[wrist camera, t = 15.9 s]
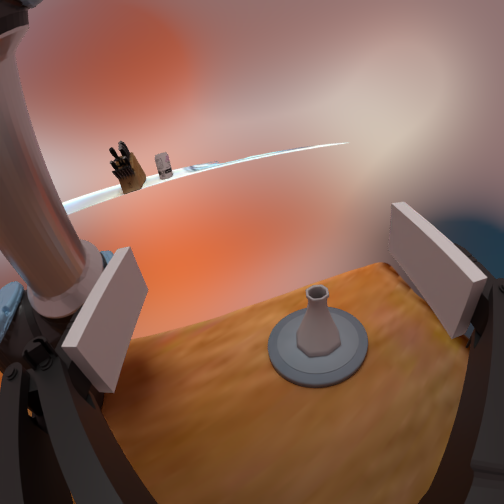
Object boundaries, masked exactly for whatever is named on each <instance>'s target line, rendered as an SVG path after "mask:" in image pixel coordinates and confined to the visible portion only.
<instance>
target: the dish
mask: <svg viewBox="0 0 504 504" xmlns="http://www.w3.org/2000/svg"><path fill="white" fill-rule="evenodd" d="M328 310H329V312H330V314H331V317H332V319H333V321H334V323H335V325H336V327H337V329H338V331H339V335H340V340H341V345H340V346H339V347H338V348H336V349H335V350H334V351H333V352H331V353H330V354H329V355H324V356H315V357H308V356H307V355H306V354H305V353H303V352H302V351H301V350H300V349H299V348H298V347H297V341H296V332H297V330H298V328H299V326H300V324H301V322H302V320H303V318H304V315H305V313H306V311H307V308H305V309H301V310H298V311H296V312H293V313H291V314H289V315H287V316H286V317H285V318H283V319H282V320H281V321H280V322H279V323H278V324H277V325H276V326H275V327H274V329H273V330H272V332H271V334H270V337H269V340H268V352H269V357H270V361H271V363H272V365H273V367H274V369H275V370H276V371H277V373H278V374H279V375H281V376H282V377H283V378H284V379H286V380H287V381H289V382H291V383H293V384H296V385H299V386H303V387H310V388H322V387H329V386H332V385H336V384H338V383H341V382H343V381H345V380H346V379H348V378H350V377H351V376H352V375H353V374H354V373H356V372H357V371H358V369H359V368H360V367H361V365H362V363H363V362H364V359H365V357H366V352H367V347H368V338H367V333H366V331H365V329H364V327H363V325H362V324H361V323H360V321H358V320H357V319H356V318H355V317H354V316H353V315H351V314H349V313H347V312H345V311H343V310H340V309H337V308H332V307H328Z"/></svg>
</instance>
